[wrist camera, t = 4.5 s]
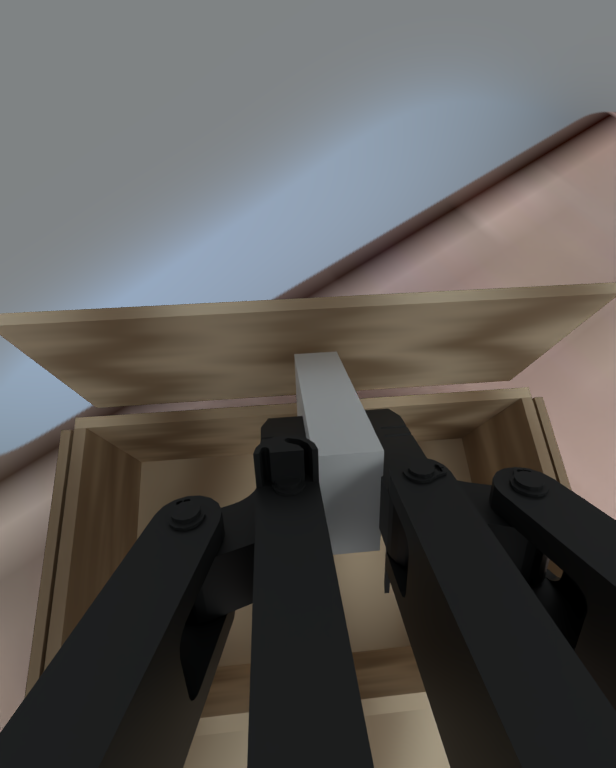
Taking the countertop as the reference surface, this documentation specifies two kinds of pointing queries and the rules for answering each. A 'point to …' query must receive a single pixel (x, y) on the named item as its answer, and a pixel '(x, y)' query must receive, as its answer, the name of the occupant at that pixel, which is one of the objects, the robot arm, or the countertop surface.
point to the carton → (236, 482)
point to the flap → (300, 341)
